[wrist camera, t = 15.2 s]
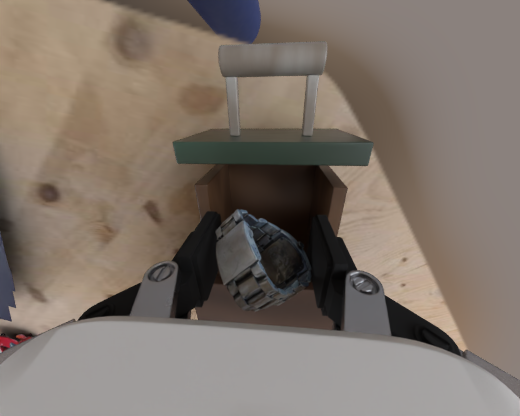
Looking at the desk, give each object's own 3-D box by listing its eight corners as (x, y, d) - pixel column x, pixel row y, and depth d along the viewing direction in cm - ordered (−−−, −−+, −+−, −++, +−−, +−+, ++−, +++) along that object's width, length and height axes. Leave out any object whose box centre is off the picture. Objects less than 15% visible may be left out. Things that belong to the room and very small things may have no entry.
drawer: (203, 63, 14) (148, 30, 8) (348, 58, 13) (406, 19, 7) (225, 245, 22) (205, 297, 16) (316, 249, 21) (332, 305, 15)
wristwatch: (241, 232, 13) (284, 298, 12) (189, 229, 9) (251, 339, 7) (274, 204, 13) (325, 269, 11) (239, 183, 8) (319, 291, 6)
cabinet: (219, 220, 22) (187, 282, 14) (324, 224, 21) (351, 292, 13) (229, 299, 28) (211, 371, 20) (310, 305, 27) (322, 382, 19)
